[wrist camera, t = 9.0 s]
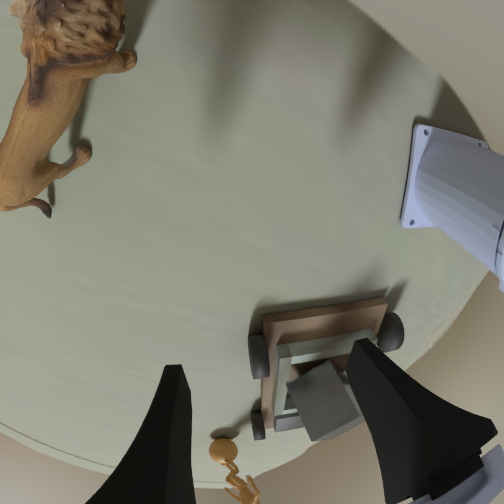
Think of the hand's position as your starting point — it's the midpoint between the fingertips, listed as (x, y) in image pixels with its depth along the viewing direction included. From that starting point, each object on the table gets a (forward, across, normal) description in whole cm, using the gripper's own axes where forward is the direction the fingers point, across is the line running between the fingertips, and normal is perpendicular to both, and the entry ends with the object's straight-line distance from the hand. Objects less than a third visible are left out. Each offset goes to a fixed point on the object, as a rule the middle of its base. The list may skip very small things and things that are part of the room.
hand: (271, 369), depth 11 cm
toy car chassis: (+9, -7, +16) cm, 19 cm away
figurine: (+10, +3, +31) cm, 32 cm away
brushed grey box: (+8, -6, +14) cm, 17 cm away
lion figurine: (+10, +9, -11) cm, 18 cm away
